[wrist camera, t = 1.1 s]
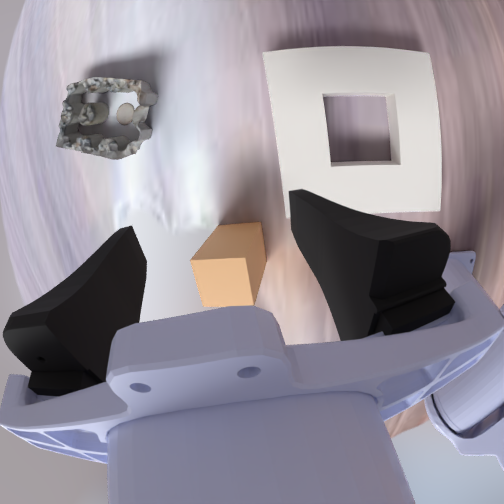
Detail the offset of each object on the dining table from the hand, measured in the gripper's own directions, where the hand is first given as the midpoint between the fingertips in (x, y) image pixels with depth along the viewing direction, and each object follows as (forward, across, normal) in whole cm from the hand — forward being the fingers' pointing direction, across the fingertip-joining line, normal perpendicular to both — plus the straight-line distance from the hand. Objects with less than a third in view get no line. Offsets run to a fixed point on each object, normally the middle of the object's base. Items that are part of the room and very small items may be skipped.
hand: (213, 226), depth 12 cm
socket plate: (+9, -12, -1) cm, 15 cm away
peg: (+10, -2, +8) cm, 14 cm away
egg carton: (+18, +8, -5) cm, 20 cm away
